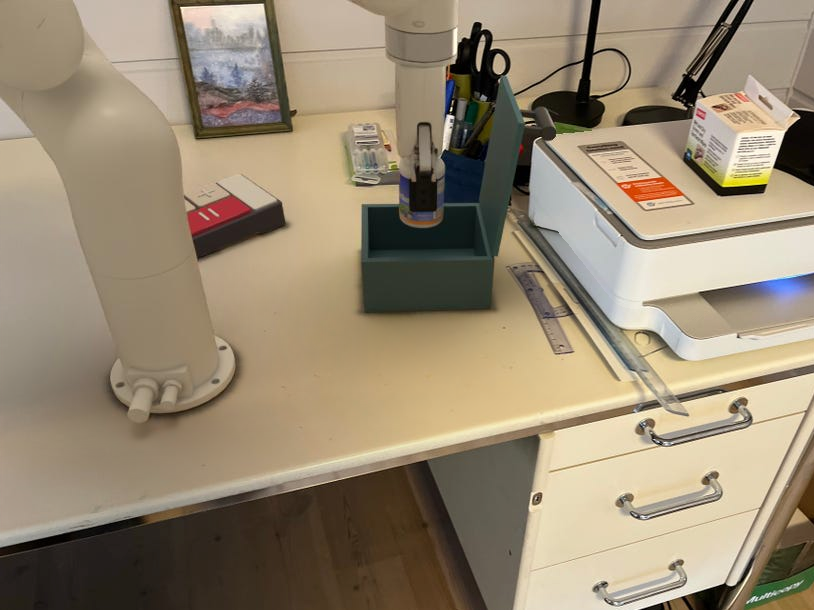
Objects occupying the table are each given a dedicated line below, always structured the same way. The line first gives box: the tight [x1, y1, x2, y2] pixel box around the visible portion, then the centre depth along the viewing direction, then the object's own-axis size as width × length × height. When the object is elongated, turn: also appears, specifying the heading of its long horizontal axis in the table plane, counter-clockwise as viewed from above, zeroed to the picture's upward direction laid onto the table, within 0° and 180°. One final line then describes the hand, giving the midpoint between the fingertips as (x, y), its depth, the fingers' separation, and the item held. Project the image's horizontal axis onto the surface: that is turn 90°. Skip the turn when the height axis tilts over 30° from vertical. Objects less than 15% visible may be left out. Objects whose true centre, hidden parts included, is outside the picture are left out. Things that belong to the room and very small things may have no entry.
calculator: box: [184, 173, 286, 259], centre depth 103 cm, size 11×4×15 cm
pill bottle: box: [398, 148, 446, 228], centre depth 88 cm, size 5×5×10 cm
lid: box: [478, 74, 557, 258], centre depth 89 cm, size 16×14×6 cm
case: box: [360, 202, 496, 313], centre depth 95 cm, size 16×14×7 cm
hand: (421, 196), depth 90 cm, fingers closed on pill bottle, 5 cm apart
